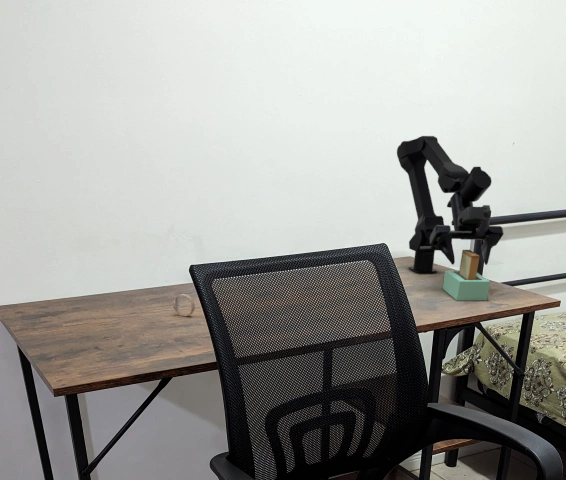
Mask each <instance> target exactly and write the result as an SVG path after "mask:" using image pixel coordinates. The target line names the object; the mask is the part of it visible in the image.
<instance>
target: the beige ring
mask: <svg viewBox="0 0 566 480" xmlns="http://www.w3.org/2000/svg"><path fill="white" fill-rule="evenodd" d="M179 297H185V298H187V299H188V301H189V302H190V305H191V310H190V312H189V313H188V314H186V313H183V312H182V311H181V310H180V309H179V307H180V300H179ZM172 303H173V304H172V307H173V310H174V312H176V313H177V315H179V316H181V317H189V316H191V315H192V314H193V313H194V311H195V309H196V304H195V301H194V299H193V297H191V296H190V295H189V294H186V293H181V294H179V295H177V296H176V297H175V298H174V300H173V302H172Z"/></svg>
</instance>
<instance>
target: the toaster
mask: <svg viewBox="0 0 566 480" xmlns="http://www.w3.org/2000/svg"><path fill="white" fill-rule="evenodd" d="M443 277H444V278H443V285H442V286H443V287H442V290H444V291H445V292H446V293H447V294H448V295H450V297H452V298H453V299H454V300H455V301H488V296H489V291H490V286H491V281H490V280H489V279H487V278H486V277H485V276H483V275H481V274H480V273H479V272H477V275H476V280H467V279H466V278H465V277H463V276H462V275H461V274H459V270H445V271H444V276H443Z"/></svg>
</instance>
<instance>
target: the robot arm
mask: <svg viewBox="0 0 566 480" xmlns="http://www.w3.org/2000/svg"><path fill="white" fill-rule="evenodd" d="M396 157H397V159H398V162H399V165H400V168H402V169H403V171H404V172H405V173H407V176H408V180H409V185H410V189H411V193H412V198H413V203H414V207H415V212H416V216H417V221H416V224H415V227H414V234H413V235H412V237H411V238H410V240H409V241H408V247H409V248H408V249H409V250H411V251H413V252H414V260H413V266H408V269H409V270H411V271H413V272H415V273H416V274H430V273H431V274H432V273H437V272H438V271H437V270H436V269H434V260H435V253H436V252H435V251H438V252H439V251H440V252H441V253H442V254H443V255H444V256H445V257H446V259H447V260H448V261H449V262H450V264H451V265H455V262H456V261H455V259H456V258H455V252H454V247H453V240H461V241H462V240H465V241H467V240H472V241H473V240H475V241H477V240H478V241H479V240H480V243H481V246H480V249H481V254H482V260H483V263H484V265H486V266H487V265H488V263H489V260H490V256H491V252H492V249H493V247H496V246H497V245H498V244H499V242H500V240H501V239H502V237H503V236H504V228H503V227H502V226H501V225H487V226H486V228H485V230H484V231H483V230H482V231H479V230H478V231H477V229H479V228H480V227H481V222H483V221H485V220H487V219H489V218H490V217H491V213H492V212H491V211H492V209H491V205H490V204H483V205H482V206H474V203H475V202H477V201H479V200H480V198H482V196H483V195H484V194H485V193H486V191H487V190H489V188H490V187H491V185H492V177H491V176H490V174H488V173H487V172H486V171H485V170H483V169H482V167H481V166H473V167H472V168H471V170H470V172H469V171H468V170H467V169H465V168H464V167H463V166H461V165H459V164H457V163H454V161H453V159H451V158H450V157H449V155H448V153H447V152H446V150H444V148H443V147H442V146H441V144H440V143H439V141H438V137H436V136H435V135H421V136H418V137H417V138H413V139H411V140H403V141H402V142H401V143H400V144H399V145H398V146H397V149H396ZM427 162H428V163H429V165H430V166H431V167H432V169H433V170H434V171H435V173H436V174H437V176H438V177H437V184H438V186H439V188H440V190H441V192H442V193H443V194H452V196H451V197H450V199H449V200H448V202H447V204H446V208H450V209H451V216H452V220H451V221H450V222H451V225H449V224H445V223H444V222H445V221H444V220H445V219H444V217H443V216H442V215H437V214H436V213H435V209H434V205H433V201H432V200H433V199H432V196H431V192H430V187H429V182H428V178H427V173H426V168H425V167H426V165H427ZM451 226H453V230H452V229H451V228H452V227H451Z"/></svg>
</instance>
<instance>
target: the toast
mask: <svg viewBox="0 0 566 480" xmlns="http://www.w3.org/2000/svg"><path fill="white" fill-rule="evenodd" d="M480 257H481V255H479V254H477V253H476V252H474V251H472V250H471V249H462V252H461V257H460V263H459V270H458V271H459V274H461V275H462V276H463V277H465V278H466V279H467V280H476V275H477V273H478V269H479V261H480Z"/></svg>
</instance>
